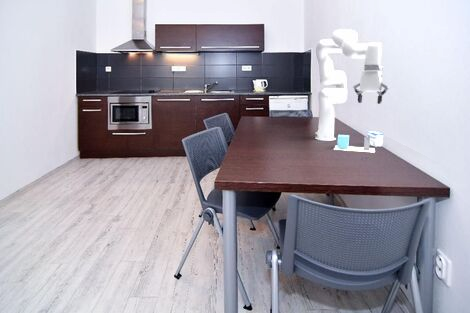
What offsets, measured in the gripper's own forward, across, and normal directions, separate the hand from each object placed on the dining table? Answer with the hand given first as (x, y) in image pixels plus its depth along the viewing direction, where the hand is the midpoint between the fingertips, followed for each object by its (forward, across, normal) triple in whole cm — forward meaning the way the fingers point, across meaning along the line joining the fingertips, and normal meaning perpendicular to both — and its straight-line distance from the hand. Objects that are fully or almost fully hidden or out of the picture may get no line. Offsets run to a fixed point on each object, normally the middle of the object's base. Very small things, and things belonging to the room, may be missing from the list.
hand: (369, 103), depth 193 cm
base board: (+25, +5, +2) cm, 26 cm away
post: (+24, -1, +1) cm, 24 cm away
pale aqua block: (+24, +11, +4) cm, 27 cm away
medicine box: (+26, 0, -15) cm, 30 cm away
